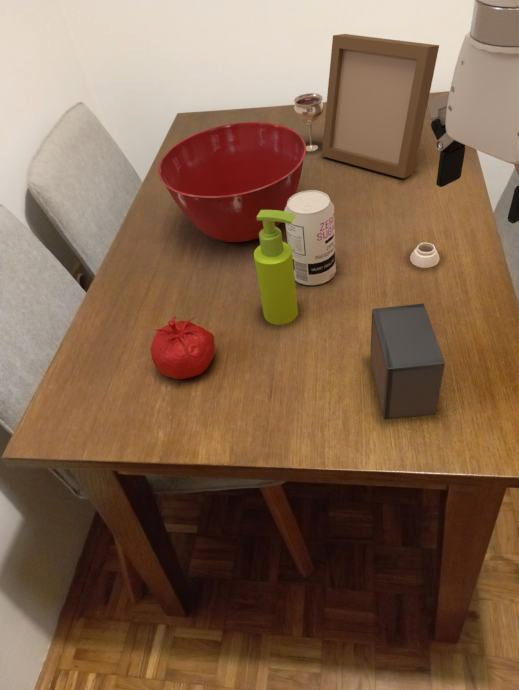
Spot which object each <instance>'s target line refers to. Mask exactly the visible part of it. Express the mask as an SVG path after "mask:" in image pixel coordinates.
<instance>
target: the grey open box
mask: <svg viewBox="0 0 519 690" xmlns="http://www.w3.org/2000/svg"><path fill="white" fill-rule="evenodd" d="M370 327H371V328H370V329H371V331H370V356H369V361H370V365H371V371H372V374H373V379H374V384H375V388H376V392H377V396H378V400H379V405H380V410H381V414H382V419H383V420H394V419H403V418H404V419H405V418H416V417H417V418H418V417H426V416H436V413H437V407H438V403H439V397H440V392H441V387H442V382H443V376H444V372H445V368H446V367H445V366H446V362H445V358H444V355H443V353H442V350H441V347H440V345H439V341H438V339H437V337H436V334H435V331H434V328H433V326H432V323H431V319H430V317H429V314H428V311H427V309H426V306H425V303H424V302H423V303H414V304H405V305H396V306H387V307H378V308H377V307H376V308H371V325H370Z"/></svg>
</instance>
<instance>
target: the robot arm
mask: <svg viewBox="0 0 519 690" xmlns="http://www.w3.org/2000/svg"><path fill="white" fill-rule="evenodd" d="M471 16H472V17H471V22H470V23H471V25H470V29H469V31H468V32H467V33H466V34H465V35H464V38H463V41H462V43H461V46H460V50H459V53H458V56H457V60H456V63H455V67H454V70H453V74H452V80H451V82H450V88H449V92H446V93H443V94H439V95H438V96H435V97H431V98H429V99H428V103H427V110H428V114H429V118H430V120H431V123H430V128H431V130H432V132H433V135H434V137H435V139H436V142H435V148H436V150H437V151H439V152H440V153H439V161H438V168H437V173H436V174H437V175H436V184H435V185H436V186H438V187H440V188H442V187H446V186H448V185H449V184H451V183H454V182H456V181H457V180H459V179H461V176H462V173H463V165H464V159H465V155H466V146H467V147H468V148H470V149H471V148H472V149H474V150H476V151H479V152H481V153H483V154H485V155H488V156H490V157H493V158H495V159H498V160H500V161H502V162H505V163H508V164H511V165H514V168H515V171H516V173H517V176H518V177H519V0H474V2H473V9H472V15H471ZM511 198H512V199H511V202H510V206H509V210H508V214H507V221H508V222H509V223H511V224H515V223H518V222H519V185H517V186H515V188H514V191H513V194H512V197H511Z"/></svg>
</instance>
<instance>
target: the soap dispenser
mask: <svg viewBox="0 0 519 690" xmlns="http://www.w3.org/2000/svg"><path fill="white" fill-rule="evenodd" d="M295 216H296V215H295V214H292V213H289V212H285V211H279V210H261V211H260V212H259V214H258V215H257V220H260V221H263V228H264V229H262V230H261V231H260V232H259V238H258V239H259V245H257V247H256V248H255V249H254V251H253V259H254V265H255V271H256V277H257V283H258V288H259V295H260V301H261V307H262V313H263V318H264V319H265V320H266V322H267V323H269V324H271V325H275V326H283V325H287V324H290V323H291V322H294V320H296V318H297V317H298V315H299V308H298V297H297V296H298V295H297V288H296V281H295V277H294V267H293V257H292V249H291V247H290V246H289V245H288V242H285V241H283V233H282V230H281V228H279V227H278V226H277V227H275V223H274V221H277V222H281V223H284V224H285V223H287V224H291V223H292V221H293V220H294V218H295Z"/></svg>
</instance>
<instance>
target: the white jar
mask: <svg viewBox="0 0 519 690" xmlns="http://www.w3.org/2000/svg"><path fill="white" fill-rule="evenodd" d="M440 260H441V257H440V254H439V252H438V250H437V249H436V246H435V245H434V244H433V243H430V242H421V243H418V245H417V246H416V247H415V248H414V250H413V251H412V252H411V254H410V256H409V262H411V264H412V265H413V266H415V267H418V268H422V269H430V268H434V267H436V266H437V265H438V264H439V262H440Z"/></svg>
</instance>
